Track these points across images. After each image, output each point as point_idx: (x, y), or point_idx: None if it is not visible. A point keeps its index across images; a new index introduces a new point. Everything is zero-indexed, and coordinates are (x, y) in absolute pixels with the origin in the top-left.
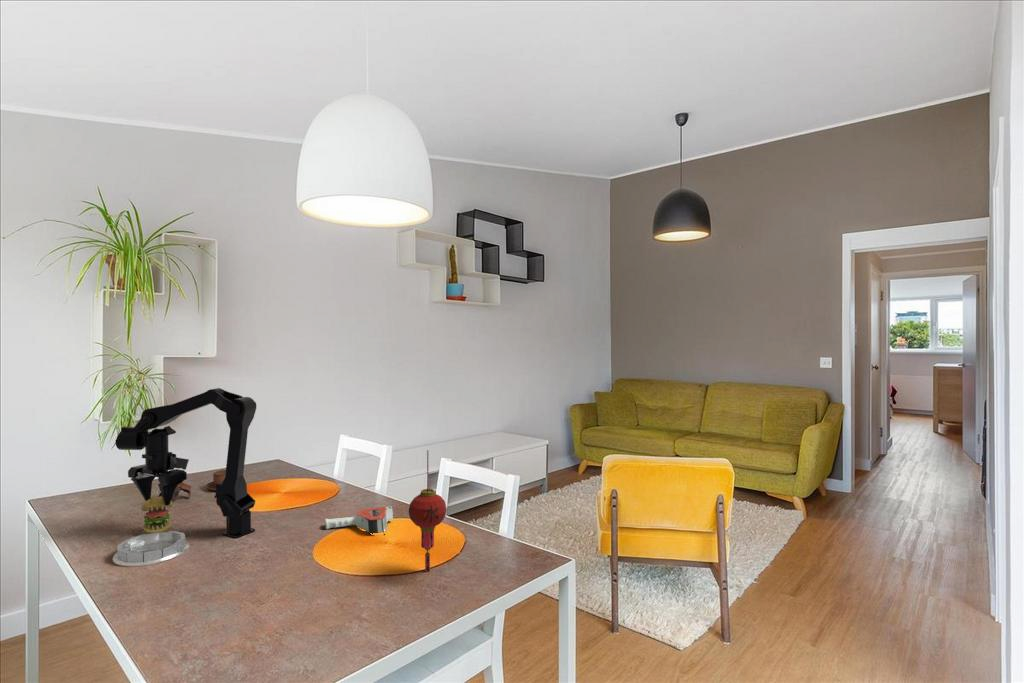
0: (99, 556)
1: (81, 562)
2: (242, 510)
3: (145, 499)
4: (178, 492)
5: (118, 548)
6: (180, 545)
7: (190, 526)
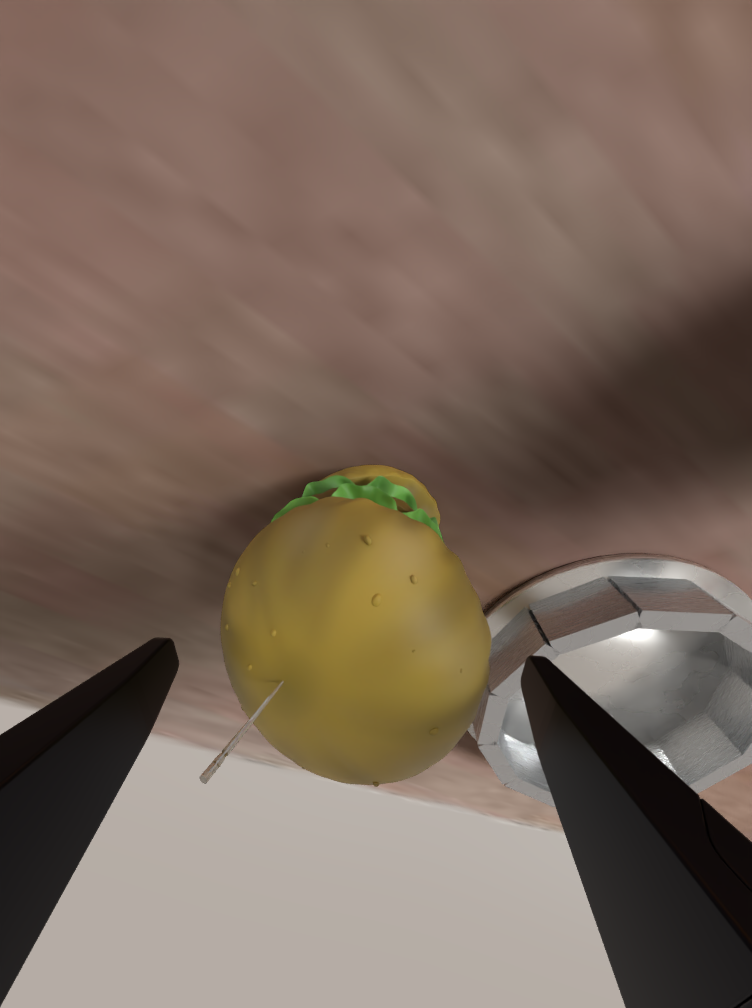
0: None
1: (411, 780)
2: None
3: (163, 691)
4: None
5: (543, 799)
6: None
7: (472, 352)
